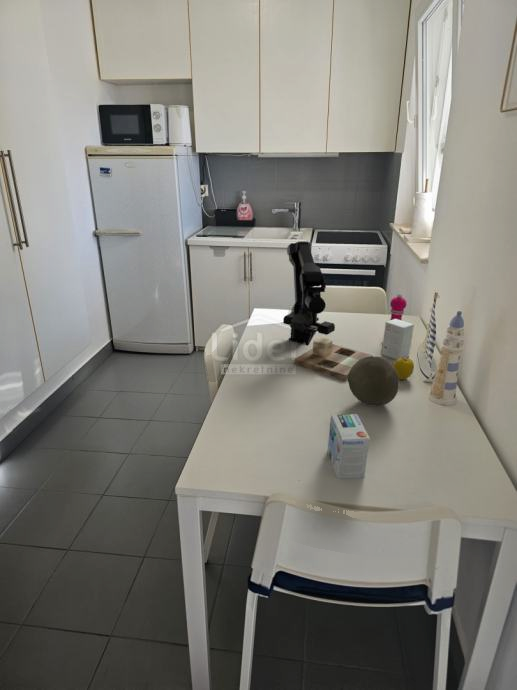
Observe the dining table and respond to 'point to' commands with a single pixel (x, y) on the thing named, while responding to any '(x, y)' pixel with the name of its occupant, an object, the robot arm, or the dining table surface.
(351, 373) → the cantaloupe
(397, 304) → the pepper mill
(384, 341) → the small box
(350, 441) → the light bulb box
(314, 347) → the maple block
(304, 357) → the trap board
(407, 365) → the apple
